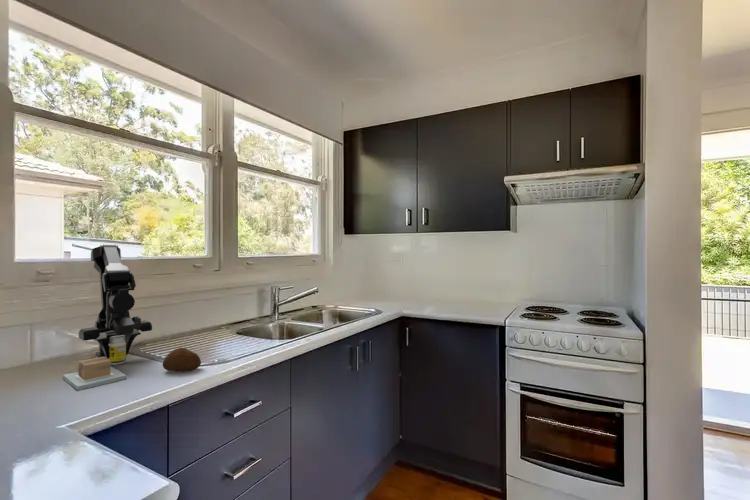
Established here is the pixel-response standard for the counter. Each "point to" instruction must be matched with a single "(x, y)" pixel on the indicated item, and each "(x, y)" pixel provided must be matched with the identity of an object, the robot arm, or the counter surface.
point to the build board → (93, 379)
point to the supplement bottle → (117, 350)
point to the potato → (181, 360)
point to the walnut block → (94, 368)
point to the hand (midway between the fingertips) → (117, 356)
